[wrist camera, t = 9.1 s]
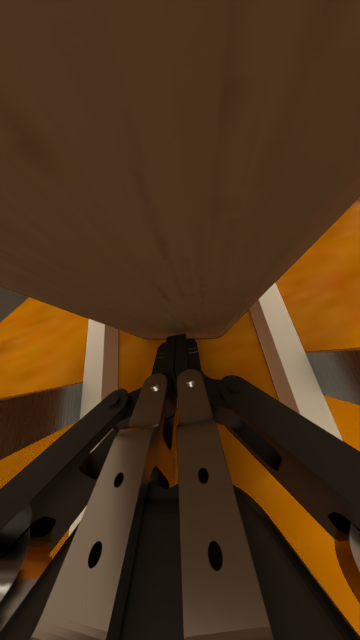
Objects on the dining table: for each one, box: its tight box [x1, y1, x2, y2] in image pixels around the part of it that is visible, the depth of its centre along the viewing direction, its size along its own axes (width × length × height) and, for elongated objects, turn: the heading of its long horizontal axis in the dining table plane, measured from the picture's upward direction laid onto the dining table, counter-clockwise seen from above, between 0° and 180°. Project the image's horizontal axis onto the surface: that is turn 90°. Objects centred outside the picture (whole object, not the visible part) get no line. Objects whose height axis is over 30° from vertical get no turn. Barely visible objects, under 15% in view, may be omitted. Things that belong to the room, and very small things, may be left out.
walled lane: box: [69, 283, 343, 541], centre depth 13 cm, size 20×28×2 cm
